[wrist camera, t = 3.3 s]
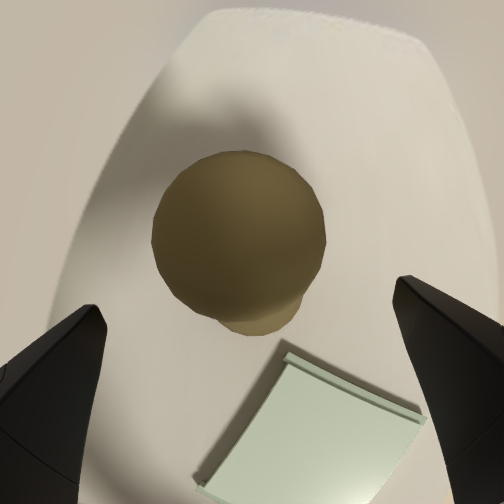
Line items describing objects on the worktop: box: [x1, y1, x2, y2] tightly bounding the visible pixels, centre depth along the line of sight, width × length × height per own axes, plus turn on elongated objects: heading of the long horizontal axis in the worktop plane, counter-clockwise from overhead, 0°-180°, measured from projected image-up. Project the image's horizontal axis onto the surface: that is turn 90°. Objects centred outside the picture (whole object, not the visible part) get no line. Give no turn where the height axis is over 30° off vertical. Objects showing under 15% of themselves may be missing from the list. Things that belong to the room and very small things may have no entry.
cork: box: [151, 151, 326, 336], centre depth 12 cm, size 6×6×11 cm
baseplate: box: [196, 351, 427, 504], centre depth 14 cm, size 11×11×1 cm
